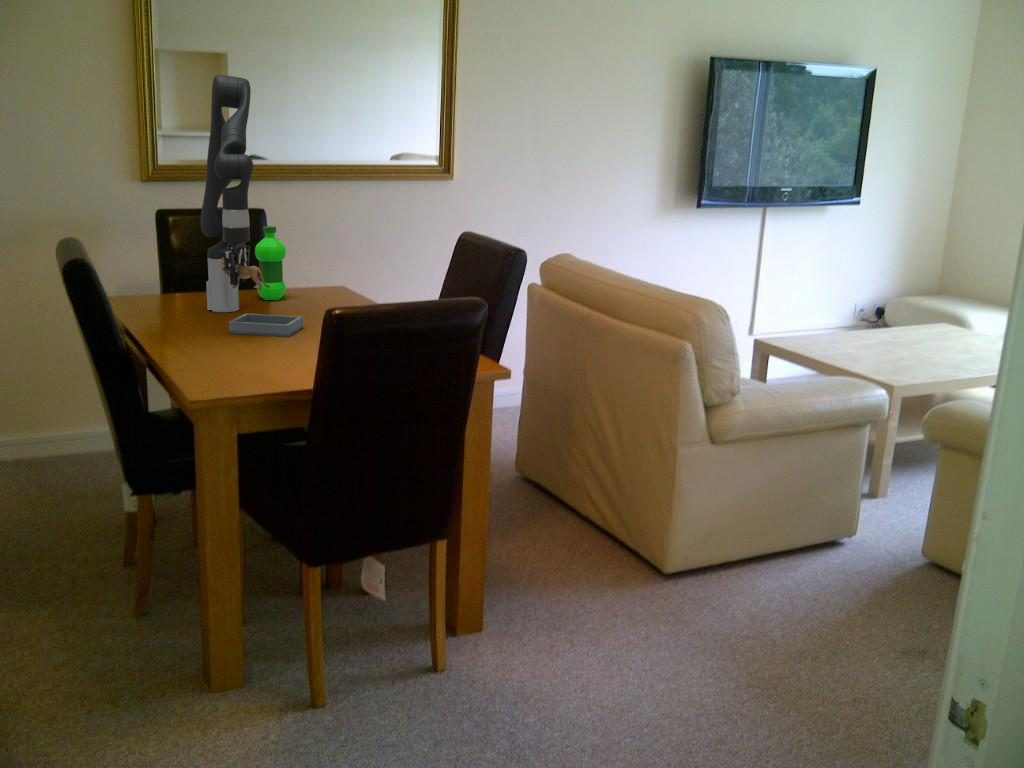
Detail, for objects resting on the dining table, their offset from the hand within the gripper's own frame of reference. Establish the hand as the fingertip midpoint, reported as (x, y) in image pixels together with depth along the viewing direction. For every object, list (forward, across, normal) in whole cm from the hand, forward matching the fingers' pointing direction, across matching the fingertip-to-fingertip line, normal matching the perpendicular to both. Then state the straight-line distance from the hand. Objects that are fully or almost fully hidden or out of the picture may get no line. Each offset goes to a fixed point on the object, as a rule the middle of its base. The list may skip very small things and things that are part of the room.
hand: (238, 282), depth 304 cm
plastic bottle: (+16, -53, -11) cm, 56 cm away
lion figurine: (+2, 0, +2) cm, 2 cm away
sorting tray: (+15, -5, +6) cm, 17 cm away
